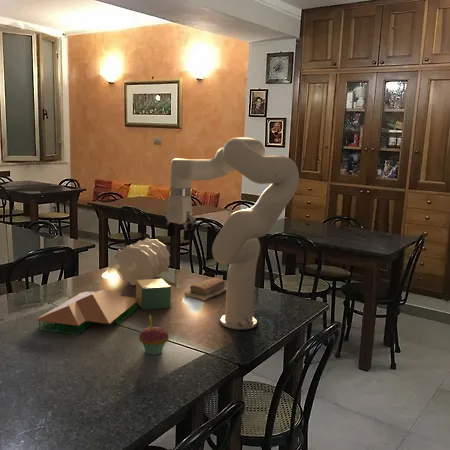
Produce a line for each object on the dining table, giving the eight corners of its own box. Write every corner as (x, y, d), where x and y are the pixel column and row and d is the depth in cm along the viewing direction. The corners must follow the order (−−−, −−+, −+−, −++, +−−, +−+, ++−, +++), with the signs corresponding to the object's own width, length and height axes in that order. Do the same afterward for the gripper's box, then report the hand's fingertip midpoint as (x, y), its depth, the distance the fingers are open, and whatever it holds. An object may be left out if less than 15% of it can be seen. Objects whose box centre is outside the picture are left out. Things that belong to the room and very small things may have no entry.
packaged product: (209, 275, 213) (229, 279, 208) (208, 286, 214) (228, 290, 209) (184, 284, 197) (205, 289, 192) (183, 296, 198) (204, 301, 193)
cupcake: (155, 360, 141) (156, 319, 139) (132, 352, 145) (133, 312, 143) (174, 350, 148) (175, 311, 146) (151, 342, 152) (152, 304, 150)
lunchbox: (170, 307, 184) (170, 286, 183) (142, 310, 180) (143, 288, 179) (161, 298, 194) (162, 278, 193) (135, 300, 190) (135, 280, 189)
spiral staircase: (162, 283, 228) (140, 296, 204) (131, 263, 231) (104, 273, 207) (181, 249, 224) (160, 258, 200) (148, 229, 227) (124, 235, 203)
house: (142, 305, 185) (142, 284, 184) (103, 338, 153) (103, 313, 152) (84, 298, 190) (84, 277, 188) (35, 329, 158) (34, 304, 156)
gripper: (158, 190, 189) (157, 234, 192) (187, 195, 177) (185, 243, 179) (174, 189, 194) (172, 233, 197) (203, 194, 182) (201, 240, 185)
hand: (179, 237), depth 188 cm, fingers open, 9 cm apart
